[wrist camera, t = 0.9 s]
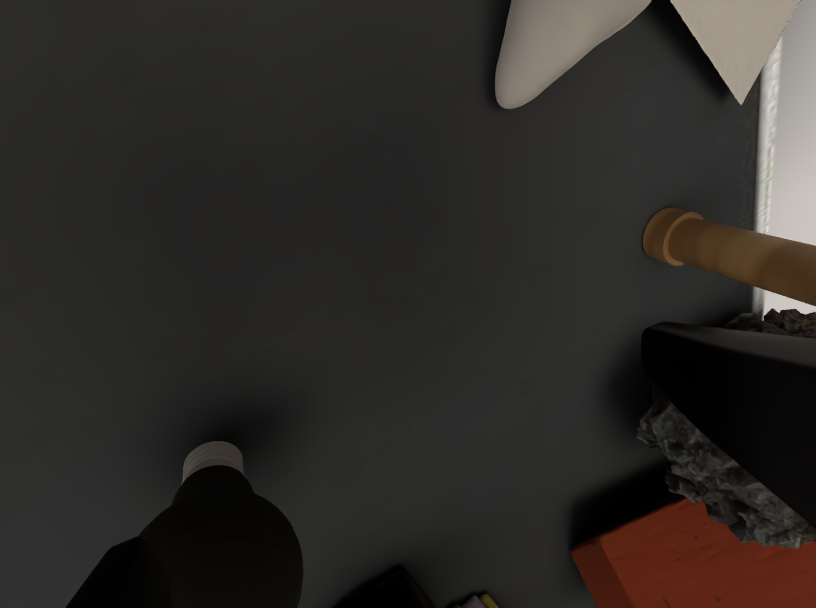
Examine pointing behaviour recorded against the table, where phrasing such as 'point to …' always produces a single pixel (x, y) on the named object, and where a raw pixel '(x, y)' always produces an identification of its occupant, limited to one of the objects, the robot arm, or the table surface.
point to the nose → (553, 41)
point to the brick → (692, 565)
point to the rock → (728, 458)
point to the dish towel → (479, 602)
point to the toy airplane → (737, 35)
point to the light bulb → (225, 538)
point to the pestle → (733, 253)
